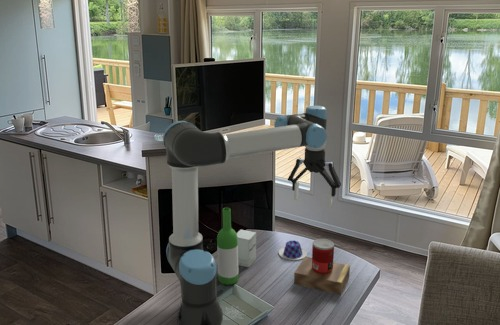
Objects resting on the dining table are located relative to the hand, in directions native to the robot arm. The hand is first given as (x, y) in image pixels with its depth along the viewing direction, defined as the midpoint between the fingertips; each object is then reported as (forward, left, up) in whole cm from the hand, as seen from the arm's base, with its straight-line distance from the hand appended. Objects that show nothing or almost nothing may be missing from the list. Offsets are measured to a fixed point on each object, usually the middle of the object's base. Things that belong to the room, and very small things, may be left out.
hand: (313, 201), depth 180 cm
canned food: (+7, -8, -24) cm, 26 cm away
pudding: (-10, +7, -29) cm, 32 cm away
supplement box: (-26, -7, -29) cm, 40 cm away
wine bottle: (-26, -22, -29) cm, 45 cm away
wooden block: (+7, -8, -29) cm, 31 cm away
